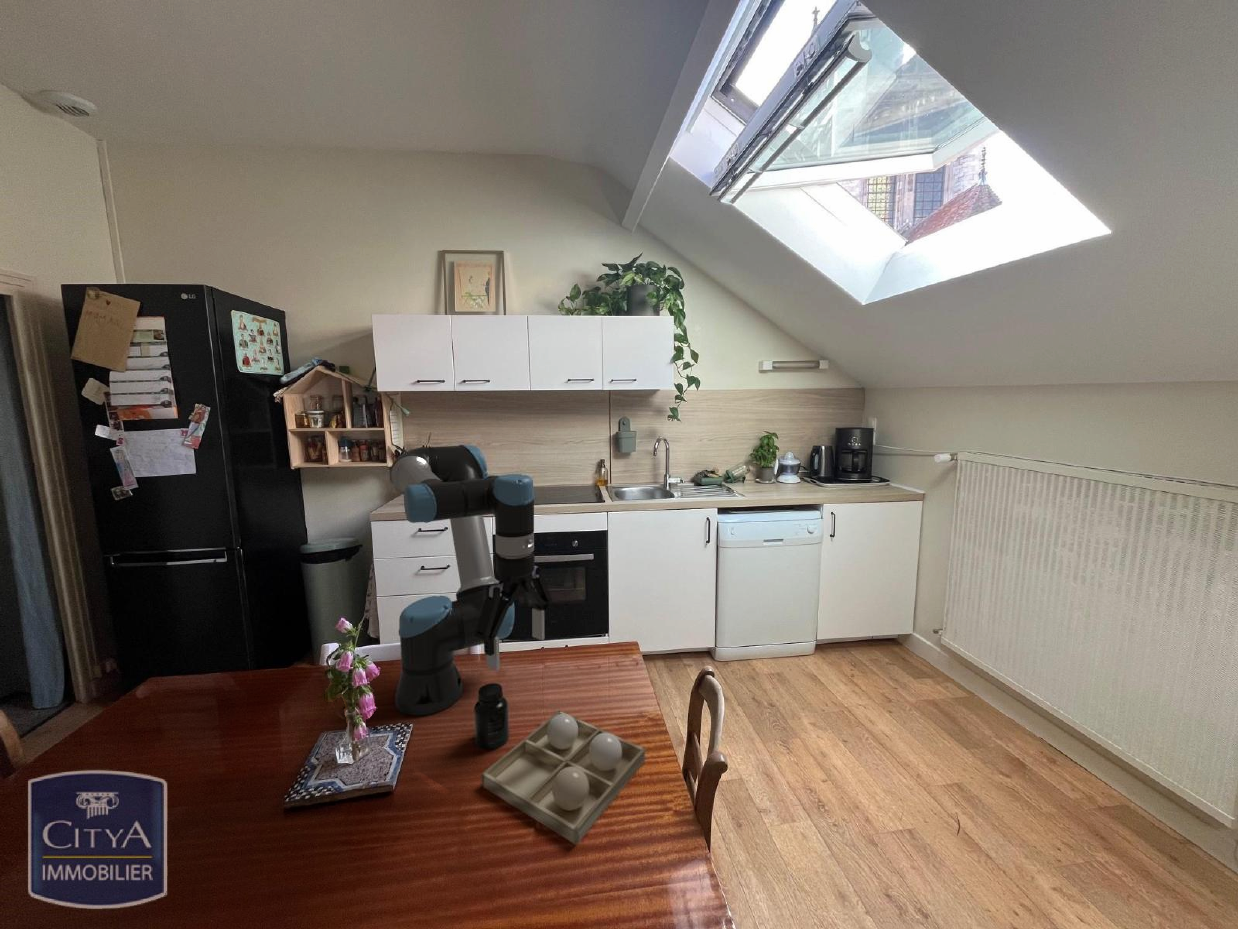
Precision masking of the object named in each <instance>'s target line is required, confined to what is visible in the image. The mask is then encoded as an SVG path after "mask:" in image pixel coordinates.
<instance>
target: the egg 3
mask: <svg viewBox="0 0 1238 929" xmlns="http://www.w3.org/2000/svg"><path fill="white" fill-rule="evenodd" d="M610 733H611V732H608V733H601V734H599V735H597V736H596V737H595V738H594V739H593V740H592V742H591V744H590V746H589V758H590V761H591V763H592V765H593V766H594V767H595V768H596V769H598V770H600V771H610V770H612V769H614V768H615V767H616V766H617V765H618V764H619V762H620V760H621V757H622V747H621V744H620V742H619V740H618V739H617V737H618V736H617V735H615V734H613V733H611V734H610ZM614 735H615V736H614ZM616 736H617V737H616Z"/></svg>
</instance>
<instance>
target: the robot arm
mask: <svg viewBox="0 0 1238 929" xmlns="http://www.w3.org/2000/svg"><path fill="white" fill-rule="evenodd" d="M389 475H390V477H389V478H390V480H391V482H392V484H393V486H394V487H395V488H396V489H397V490H399V491H401V492H402V493H403V506H404V507H403V508H404V514H405V517H406V520H407V521H408V522H409V523H412V524H415V523H416V524H417V523H418V524H419V523H431V522H436V521H437V522H438V521H445V520H449V521H450V527H451V528H450V530H451V533H452V539H453V540H452V542H453V546H454V554H455V558H456V559H455V560H456V564H457V565H456V566H457V570H458V578H459V582H460V587H459V588H458V590H457V592H456V593H455V597H456V600H453V601H452V600H451V599H450V597H448V596H447V595H439V596H438V595H432V596H427V597H423V598H421V599H418V600H416V601H413V602H412V603H411V604H409V605H407V606H406V607H405V608H403V610H402V611H401V613H400V615H399V620H398V622H399V626H398V627H399V628H398V636H399V640H400V641H399V642H400V663H401V664H400V665H401V671H400V672H401V673H400V677H399V681H398V683H397V687H396V691H395V692H394V693H395V696H394V697H395V698H394V701H395V707H396V709H397V710H398V711H399V712H401V713H402V714H404V715H409V716H426V715H432V714H435V713H438V712H441V711H444V710H446V709H448V708H449V707H451V706H453V705H455V704H456V702H457V701H459V700H460V698H461V696H462V695H463V690H464V687H463V679H462V676H461V674H460V672H459V670H458V667H457V666H456V663H455V661H454V659H455V658H454V653H455V652H457V651H460V650H463V649H464V650H465V649H469V648H473V647H476V646H480V645H483V653H484V654H485V655H486V668H488V669H491V670H493V671H496V672H498V671H499V670H500V669H501V668H500V667H501V666H500V640H502V639H505V638H507V637H509V635H510V634H511V633H512V630H513V628H514V624H515V601H517V600H519V599H520V598H523V597H527V598H526V599H528V600H529V601H530V602H531V604H533V605H534V607H533V608H532V609H531V611H532V613H531V616H532V617H531V619H532V620H531V623H532V626H531V628H532V629H531V632H532V634H531V635H532V638H535V639H537V640H540V641H544V640H545V621H546V611H548V610H549V609H550V607H551V605H550V604H551V603H552V601H553V598H552V596H551V593H550V590H549V588H548V586H547V583H546V581H545V578H544V575H543V568H542V567H540V566H537V565H535V563H536V562H535V561H536V560H535V553H534V550H535V533H534V532H535V491H534V480H533V478H532V477H531V476H529V475H526V474H520V473H512V474H510V473H509V474H503V475H495V474H490V475H488V466H487V461H486V458H485V456H484V454H483V452H482V450H481V449H480V448H479V447H477V446H476V445H465V444H459V445H450V446H449V445H446V446H423V447H416V448H414V449H413V448H412V449H410V450H407V451H406V452H403V453H402V454H401V455H399V456H398V457H397V458H396V459H395V460H394V461H393V463H392V464H391V467H390V470H389ZM485 515H487V516H488V515H493V516H494V523H495V528H494V529H495V530H494V531H495V536H494V537H495V553H496V556H495V571H496V573H497V575H498V577H499V580H498V579H496V577H495V572H494V568H493V562H492V557H491V551H490V546H489V541H488V536H487V530H486V524H485V519H484V516H485ZM531 582H532V584H533V585H532V584H531Z"/></svg>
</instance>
